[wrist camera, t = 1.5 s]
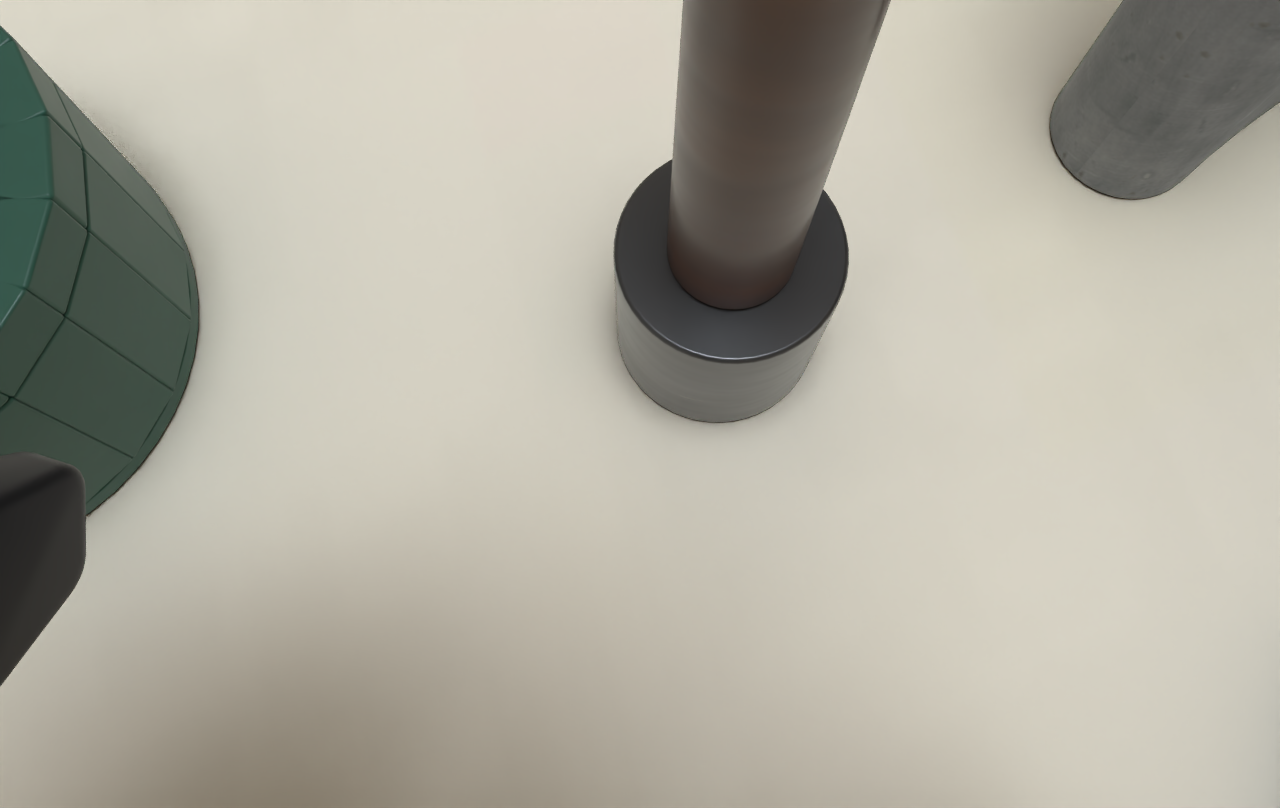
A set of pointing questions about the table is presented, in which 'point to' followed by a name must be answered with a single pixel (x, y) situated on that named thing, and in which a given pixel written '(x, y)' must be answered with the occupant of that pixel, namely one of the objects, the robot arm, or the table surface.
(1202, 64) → the hip flask
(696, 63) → the brown cylinder with base
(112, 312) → the round container
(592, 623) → the table surface
